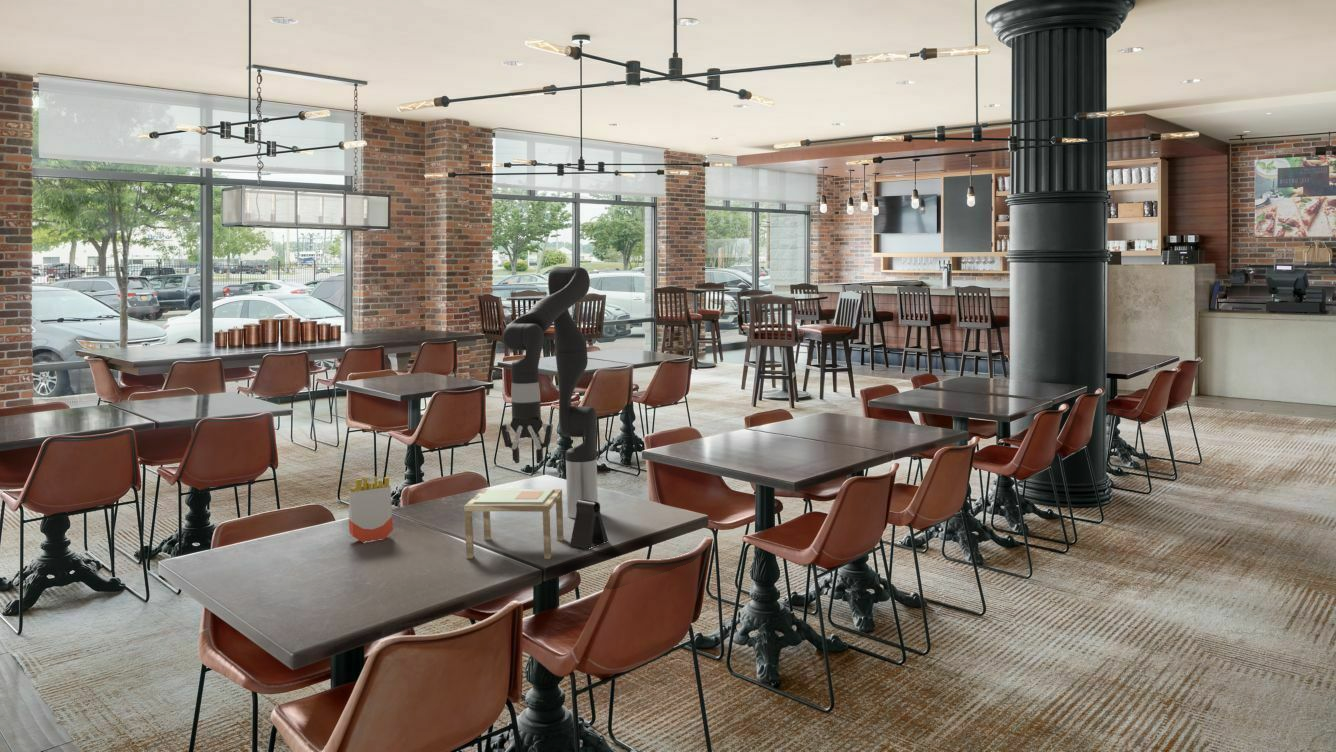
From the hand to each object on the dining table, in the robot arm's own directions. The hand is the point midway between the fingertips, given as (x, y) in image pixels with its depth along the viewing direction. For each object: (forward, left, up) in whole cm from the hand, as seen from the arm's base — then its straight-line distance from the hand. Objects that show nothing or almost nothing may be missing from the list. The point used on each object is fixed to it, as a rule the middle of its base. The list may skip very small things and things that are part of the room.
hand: (528, 462), depth 250 cm
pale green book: (0, -4, -11) cm, 12 cm away
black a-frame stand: (-4, +15, -24) cm, 28 cm away
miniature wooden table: (0, -4, -23) cm, 24 cm away
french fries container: (-7, -47, -24) cm, 53 cm away
